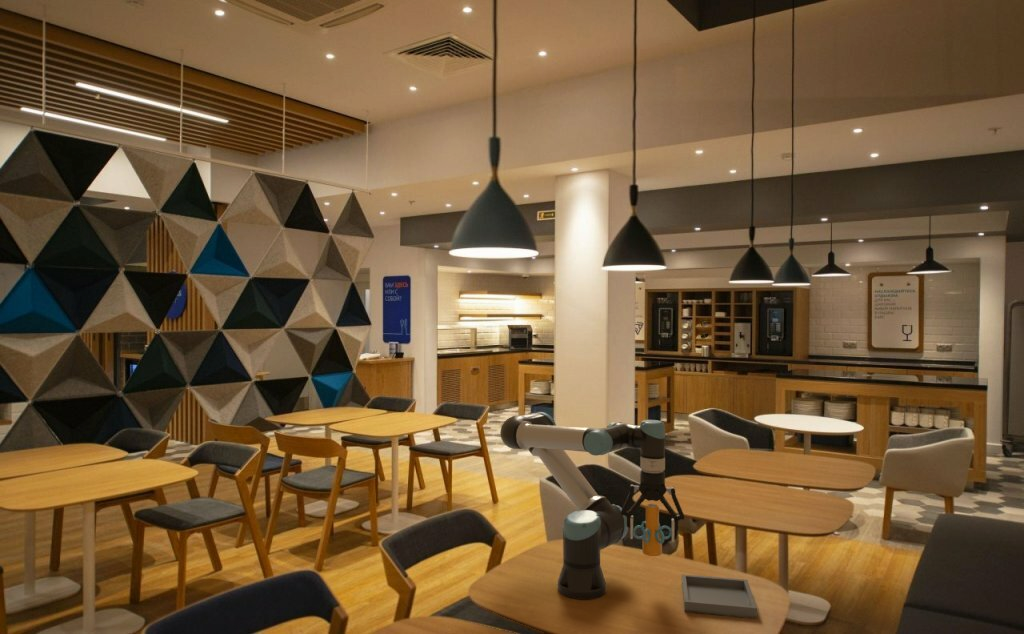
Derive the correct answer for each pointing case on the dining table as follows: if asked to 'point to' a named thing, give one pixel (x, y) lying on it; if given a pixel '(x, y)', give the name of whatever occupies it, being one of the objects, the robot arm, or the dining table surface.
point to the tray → (718, 596)
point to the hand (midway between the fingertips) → (652, 539)
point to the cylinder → (652, 532)
